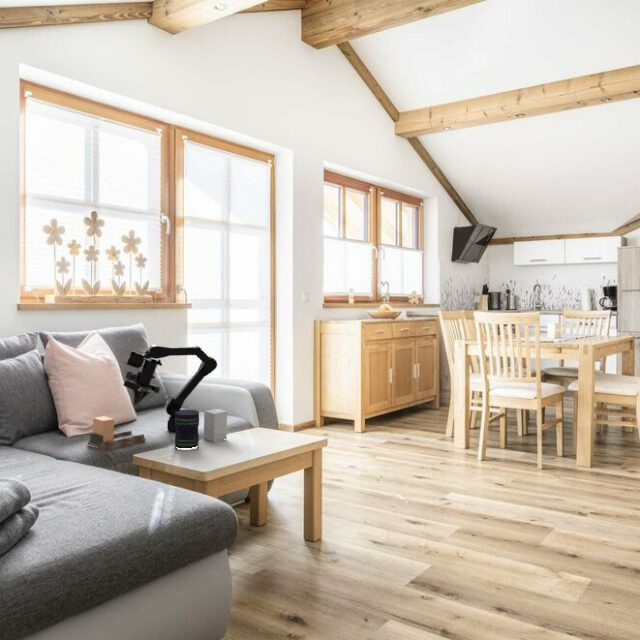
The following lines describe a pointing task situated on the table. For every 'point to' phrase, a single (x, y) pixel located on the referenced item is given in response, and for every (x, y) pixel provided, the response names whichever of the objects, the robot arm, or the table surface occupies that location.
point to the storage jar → (186, 428)
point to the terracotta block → (104, 427)
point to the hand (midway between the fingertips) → (135, 404)
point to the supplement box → (215, 425)
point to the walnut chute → (115, 440)
